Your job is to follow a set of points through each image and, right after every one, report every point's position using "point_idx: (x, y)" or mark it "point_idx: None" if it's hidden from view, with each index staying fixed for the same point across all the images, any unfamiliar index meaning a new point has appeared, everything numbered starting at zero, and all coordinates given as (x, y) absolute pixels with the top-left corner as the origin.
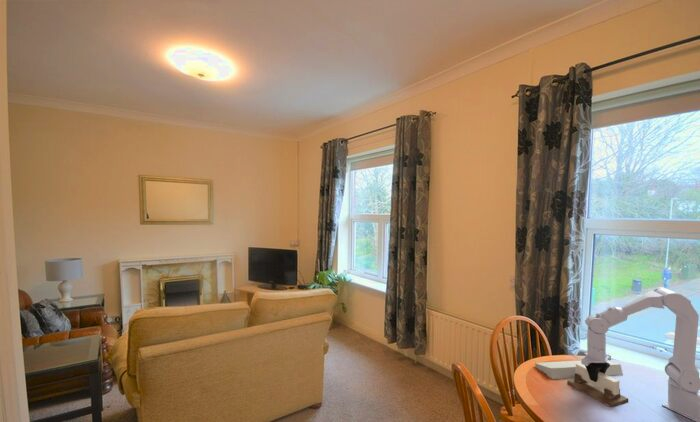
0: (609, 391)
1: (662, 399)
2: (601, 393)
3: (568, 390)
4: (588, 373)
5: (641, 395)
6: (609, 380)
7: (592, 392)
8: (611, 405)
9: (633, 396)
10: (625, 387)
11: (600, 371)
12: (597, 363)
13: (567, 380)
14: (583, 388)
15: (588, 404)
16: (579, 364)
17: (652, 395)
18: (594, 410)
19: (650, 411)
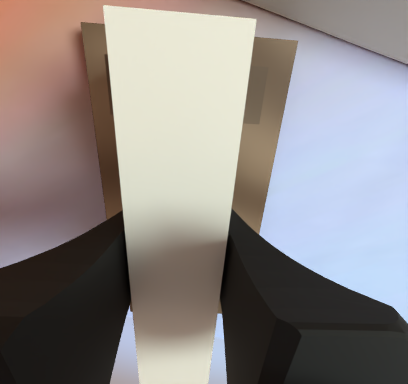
0: (131, 307)
1: (396, 308)
2: None
3: (15, 102)
4: (103, 224)
5: (363, 271)
6: (140, 367)
7: (120, 203)
8: None
9: (320, 264)
10: (394, 214)
11: (225, 293)
12: (244, 367)
13: (81, 23)
14: (106, 155)
15: (25, 229)
16: (157, 59)
17: (404, 285)
18: (14, 262)
19: None
